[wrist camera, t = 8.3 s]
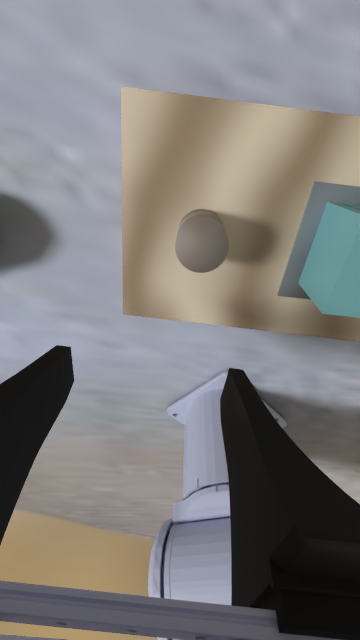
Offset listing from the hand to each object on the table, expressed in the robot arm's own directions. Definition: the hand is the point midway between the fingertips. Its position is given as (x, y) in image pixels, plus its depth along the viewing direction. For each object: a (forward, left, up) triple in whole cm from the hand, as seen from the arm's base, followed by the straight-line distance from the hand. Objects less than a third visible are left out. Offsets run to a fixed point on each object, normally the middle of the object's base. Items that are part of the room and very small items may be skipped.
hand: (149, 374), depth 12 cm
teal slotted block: (-6, -11, -8) cm, 14 cm away
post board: (-2, -8, -9) cm, 12 cm away
